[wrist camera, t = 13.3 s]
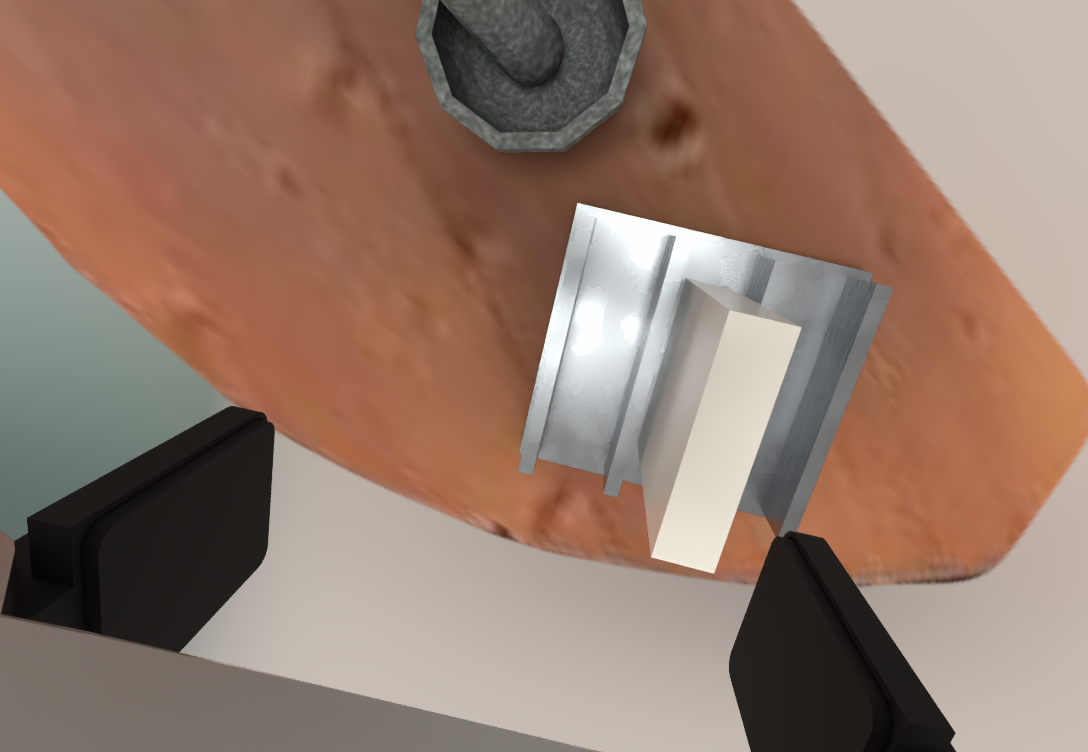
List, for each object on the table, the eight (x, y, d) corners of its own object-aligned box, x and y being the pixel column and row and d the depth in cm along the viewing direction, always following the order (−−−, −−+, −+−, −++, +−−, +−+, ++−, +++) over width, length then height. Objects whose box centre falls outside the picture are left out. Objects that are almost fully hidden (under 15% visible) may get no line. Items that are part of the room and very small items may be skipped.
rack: (522, 444, 36) (509, 477, 32) (578, 203, 32) (573, 200, 28) (771, 508, 36) (796, 553, 31) (861, 270, 32) (906, 279, 27)
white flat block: (637, 443, 34) (651, 557, 22) (685, 278, 31) (729, 310, 20) (678, 454, 34) (713, 573, 22) (730, 288, 31) (801, 327, 20)
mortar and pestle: (674, 48, 30) (715, -62, 18) (568, 201, 32) (544, 189, 21) (499, -91, 29) (426, -296, 18) (404, 77, 32) (286, -6, 20)
